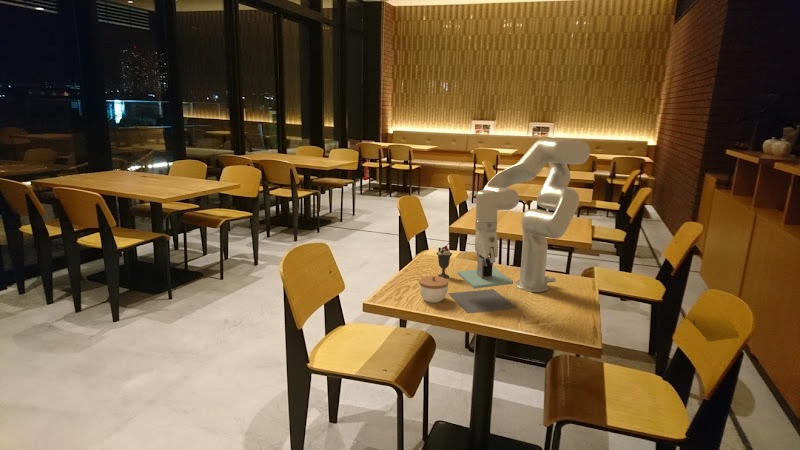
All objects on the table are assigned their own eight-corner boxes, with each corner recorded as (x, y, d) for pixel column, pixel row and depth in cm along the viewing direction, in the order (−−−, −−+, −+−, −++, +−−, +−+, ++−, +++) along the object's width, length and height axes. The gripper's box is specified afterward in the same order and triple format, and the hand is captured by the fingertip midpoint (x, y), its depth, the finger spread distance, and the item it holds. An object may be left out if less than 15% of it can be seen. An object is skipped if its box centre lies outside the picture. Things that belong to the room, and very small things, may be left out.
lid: (494, 269, 182) (494, 250, 180) (513, 283, 168) (514, 262, 166) (457, 274, 178) (457, 253, 176) (473, 288, 164) (474, 266, 162)
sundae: (452, 279, 198) (453, 244, 194) (436, 278, 198) (437, 244, 194) (450, 274, 204) (452, 240, 201) (435, 273, 204) (436, 240, 201)
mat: (493, 290, 186) (493, 289, 186) (517, 309, 168) (517, 308, 168) (447, 294, 181) (447, 293, 181) (467, 314, 163) (467, 313, 163)
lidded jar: (446, 307, 169) (447, 282, 167) (416, 304, 171) (416, 280, 169) (449, 296, 179) (450, 272, 177) (421, 294, 181) (421, 270, 179)
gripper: (506, 230, 161) (504, 280, 166) (485, 218, 177) (484, 265, 181) (486, 231, 159) (485, 283, 164) (466, 220, 175) (465, 267, 180)
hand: (484, 273), depth 173 cm, fingers closed on lid, 4 cm apart
